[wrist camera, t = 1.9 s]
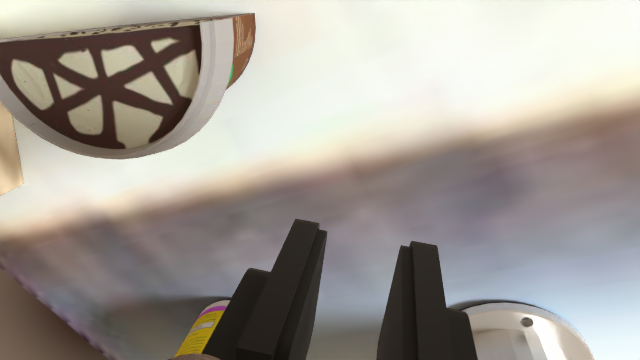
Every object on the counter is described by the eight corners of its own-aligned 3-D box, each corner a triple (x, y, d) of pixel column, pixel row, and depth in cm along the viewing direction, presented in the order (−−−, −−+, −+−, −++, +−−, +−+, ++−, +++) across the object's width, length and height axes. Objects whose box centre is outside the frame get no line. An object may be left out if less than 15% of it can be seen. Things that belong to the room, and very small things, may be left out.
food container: (120, 119, 31) (4, 172, 22) (95, 27, 29) (-46, 44, 20) (289, 111, 29) (238, 167, 20) (278, 10, 26) (214, 21, 17)
